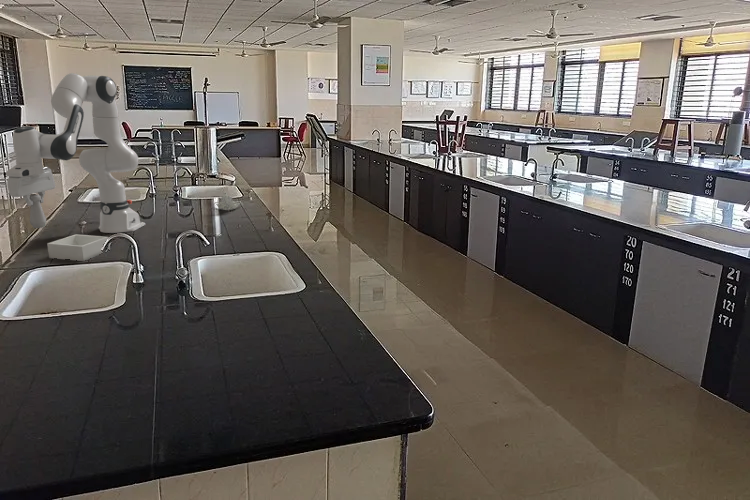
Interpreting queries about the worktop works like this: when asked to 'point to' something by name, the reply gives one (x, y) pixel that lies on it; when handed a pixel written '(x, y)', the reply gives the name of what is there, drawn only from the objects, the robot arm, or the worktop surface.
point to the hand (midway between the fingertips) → (35, 204)
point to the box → (77, 247)
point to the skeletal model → (227, 202)
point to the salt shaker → (37, 212)
